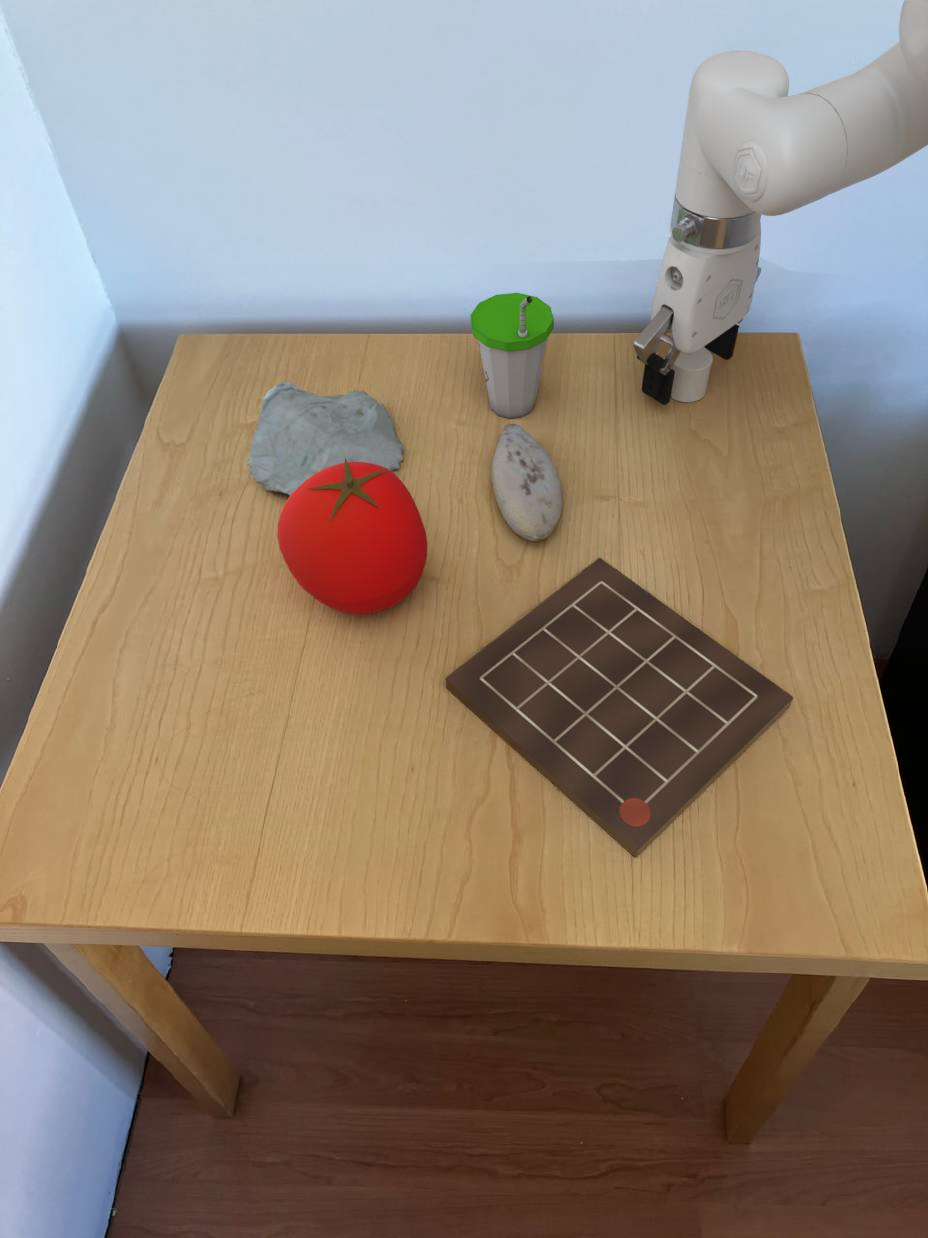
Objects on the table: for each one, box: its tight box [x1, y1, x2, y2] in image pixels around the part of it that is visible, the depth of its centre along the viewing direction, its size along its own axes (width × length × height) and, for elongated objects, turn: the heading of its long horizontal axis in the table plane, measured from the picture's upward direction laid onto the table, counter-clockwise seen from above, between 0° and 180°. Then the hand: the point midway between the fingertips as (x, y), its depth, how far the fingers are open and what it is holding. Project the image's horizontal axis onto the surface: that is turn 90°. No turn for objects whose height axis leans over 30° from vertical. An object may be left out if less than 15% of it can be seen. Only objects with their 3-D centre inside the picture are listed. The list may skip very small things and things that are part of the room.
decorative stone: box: [491, 423, 563, 542], centre depth 88 cm, size 6×16×3 cm, turn 10°
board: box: [445, 557, 794, 859], centre depth 75 cm, size 20×18×2 cm
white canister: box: [670, 347, 714, 403], centre depth 96 cm, size 4×4×4 cm
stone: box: [247, 381, 404, 497], centre depth 93 cm, size 16×4×15 cm
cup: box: [470, 292, 555, 420], centre depth 92 cm, size 8×8×15 cm
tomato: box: [276, 458, 428, 615], centre depth 79 cm, size 12×12×13 cm
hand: (687, 374), depth 97 cm, fingers open, 9 cm apart
